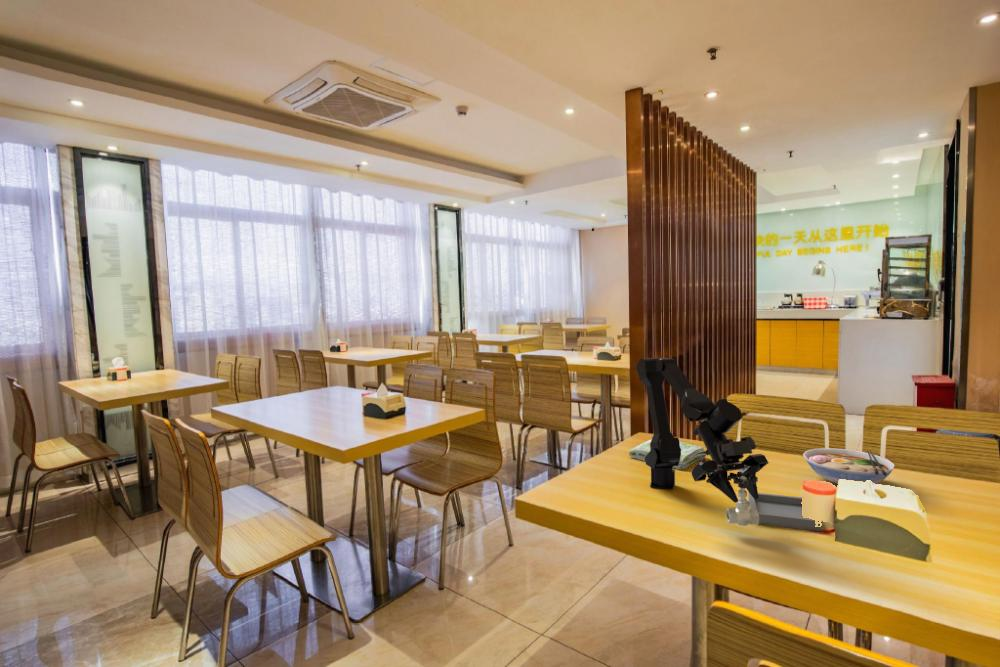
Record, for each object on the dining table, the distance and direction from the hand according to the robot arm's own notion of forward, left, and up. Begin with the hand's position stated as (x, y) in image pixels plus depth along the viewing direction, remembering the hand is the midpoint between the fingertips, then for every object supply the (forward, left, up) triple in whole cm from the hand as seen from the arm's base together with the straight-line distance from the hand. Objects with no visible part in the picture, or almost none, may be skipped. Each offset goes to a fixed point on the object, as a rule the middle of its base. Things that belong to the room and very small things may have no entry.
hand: (746, 500), depth 121 cm
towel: (-21, +57, -10) cm, 61 cm away
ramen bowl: (+31, +47, -9) cm, 56 cm away
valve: (-1, +1, -7) cm, 7 cm away
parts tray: (+10, +16, -9) cm, 21 cm away
